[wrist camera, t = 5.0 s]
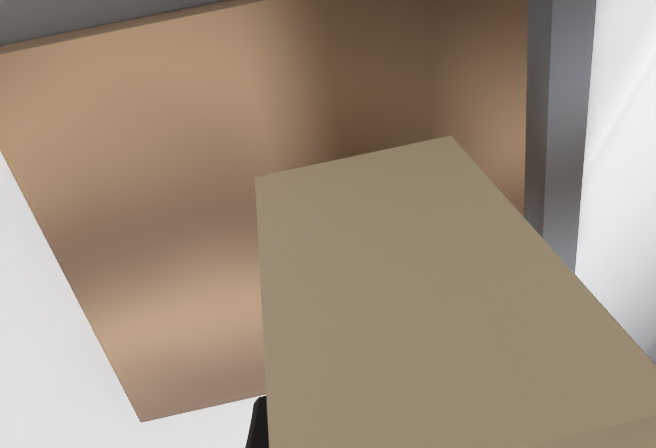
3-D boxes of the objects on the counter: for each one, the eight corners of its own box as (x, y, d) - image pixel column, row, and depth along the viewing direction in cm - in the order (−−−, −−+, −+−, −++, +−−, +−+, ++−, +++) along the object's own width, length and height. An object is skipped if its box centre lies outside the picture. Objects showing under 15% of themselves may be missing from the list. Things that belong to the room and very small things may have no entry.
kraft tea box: (451, 135, 11) (694, 407, 5) (464, 352, 14) (625, 680, 8) (255, 177, 11) (271, 504, 5) (309, 387, 14) (361, 745, 8)
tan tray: (538, 307, 20) (572, 354, 18) (146, 394, 20) (135, 453, 18) (553, -66, 14) (608, -59, 12) (-23, 50, 13) (-71, 78, 11)
